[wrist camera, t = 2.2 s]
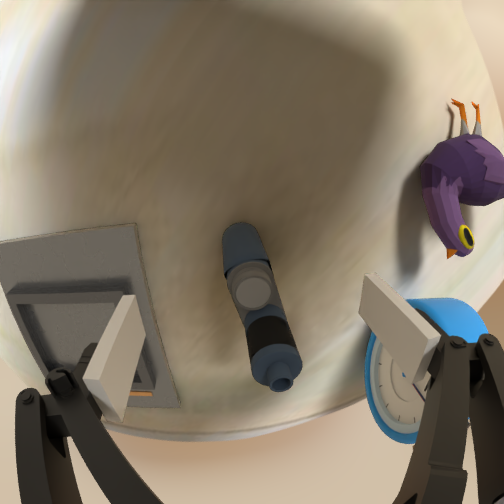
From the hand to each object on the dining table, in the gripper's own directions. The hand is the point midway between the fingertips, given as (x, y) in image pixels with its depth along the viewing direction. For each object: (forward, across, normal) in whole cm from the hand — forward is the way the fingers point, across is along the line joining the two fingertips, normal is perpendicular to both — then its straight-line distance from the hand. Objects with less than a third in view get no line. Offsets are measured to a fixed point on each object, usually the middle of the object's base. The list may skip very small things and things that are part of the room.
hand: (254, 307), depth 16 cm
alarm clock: (+7, +15, -9) cm, 19 cm away
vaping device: (+7, 0, +1) cm, 7 cm away
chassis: (+7, -16, -6) cm, 19 cm away
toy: (+7, +20, +7) cm, 22 cm away
